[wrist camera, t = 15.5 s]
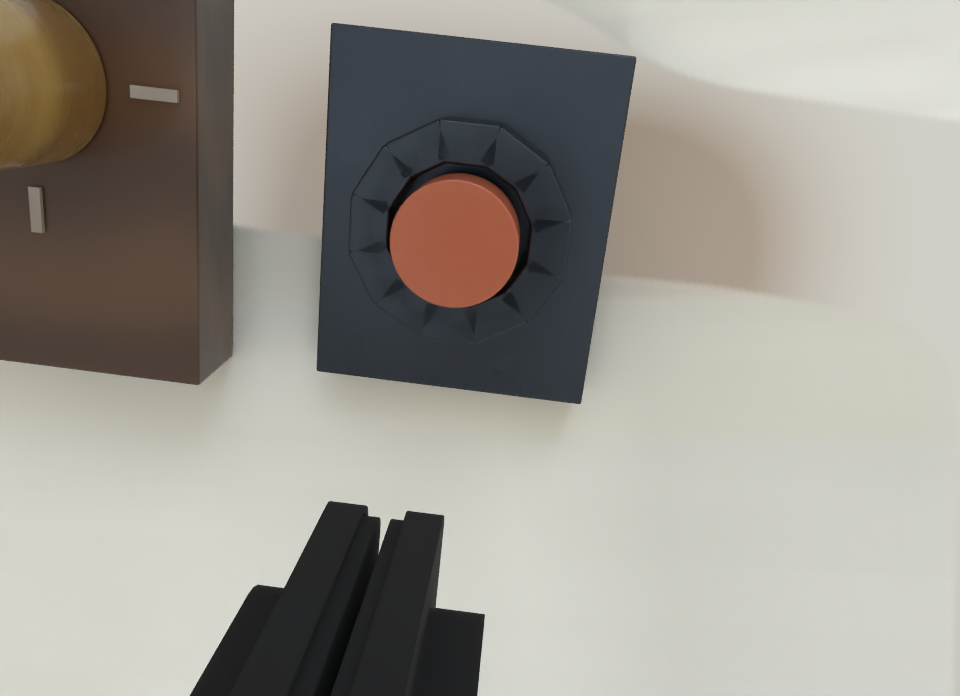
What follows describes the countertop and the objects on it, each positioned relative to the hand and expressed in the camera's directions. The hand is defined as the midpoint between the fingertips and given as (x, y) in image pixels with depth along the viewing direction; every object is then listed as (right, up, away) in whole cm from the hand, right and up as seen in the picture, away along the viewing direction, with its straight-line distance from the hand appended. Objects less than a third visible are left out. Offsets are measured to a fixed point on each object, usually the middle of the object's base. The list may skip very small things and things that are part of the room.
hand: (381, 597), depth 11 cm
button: (+1, +7, +12) cm, 14 cm away
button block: (+1, +8, +15) cm, 17 cm away
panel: (-12, +10, +15) cm, 22 cm away
